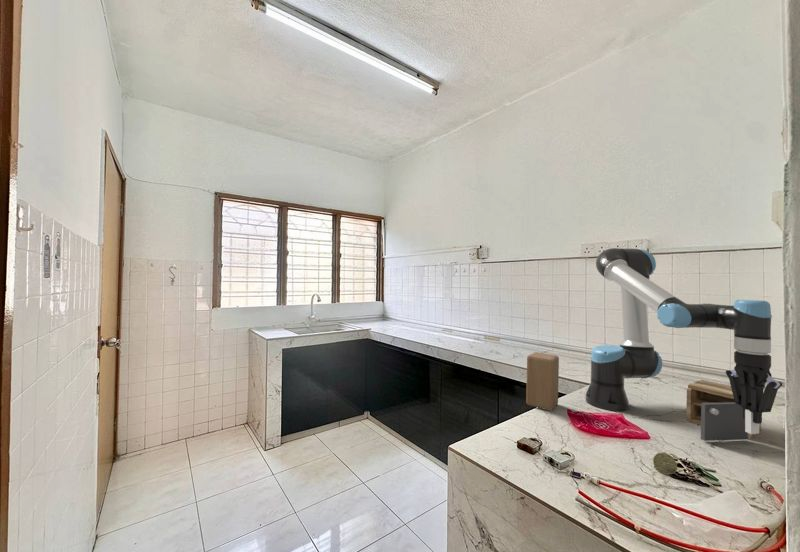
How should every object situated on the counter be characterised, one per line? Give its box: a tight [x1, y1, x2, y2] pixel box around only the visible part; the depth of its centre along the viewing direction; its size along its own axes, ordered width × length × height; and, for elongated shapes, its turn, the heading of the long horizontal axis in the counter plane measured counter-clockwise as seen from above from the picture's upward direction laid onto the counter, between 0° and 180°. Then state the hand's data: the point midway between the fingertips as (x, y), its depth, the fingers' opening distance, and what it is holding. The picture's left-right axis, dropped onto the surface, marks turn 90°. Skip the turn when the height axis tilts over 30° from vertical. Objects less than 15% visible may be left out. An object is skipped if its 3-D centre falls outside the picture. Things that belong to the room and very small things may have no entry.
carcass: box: [685, 379, 762, 440], centre depth 118 cm, size 14×16×13 cm
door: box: [700, 402, 750, 442], centre depth 105 cm, size 3×16×12 cm, turn 96°
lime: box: [652, 452, 678, 476], centre depth 88 cm, size 4×5×5 cm
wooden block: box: [525, 351, 560, 411], centre depth 134 cm, size 10×10×20 cm
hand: (752, 432), depth 98 cm, fingers closed
